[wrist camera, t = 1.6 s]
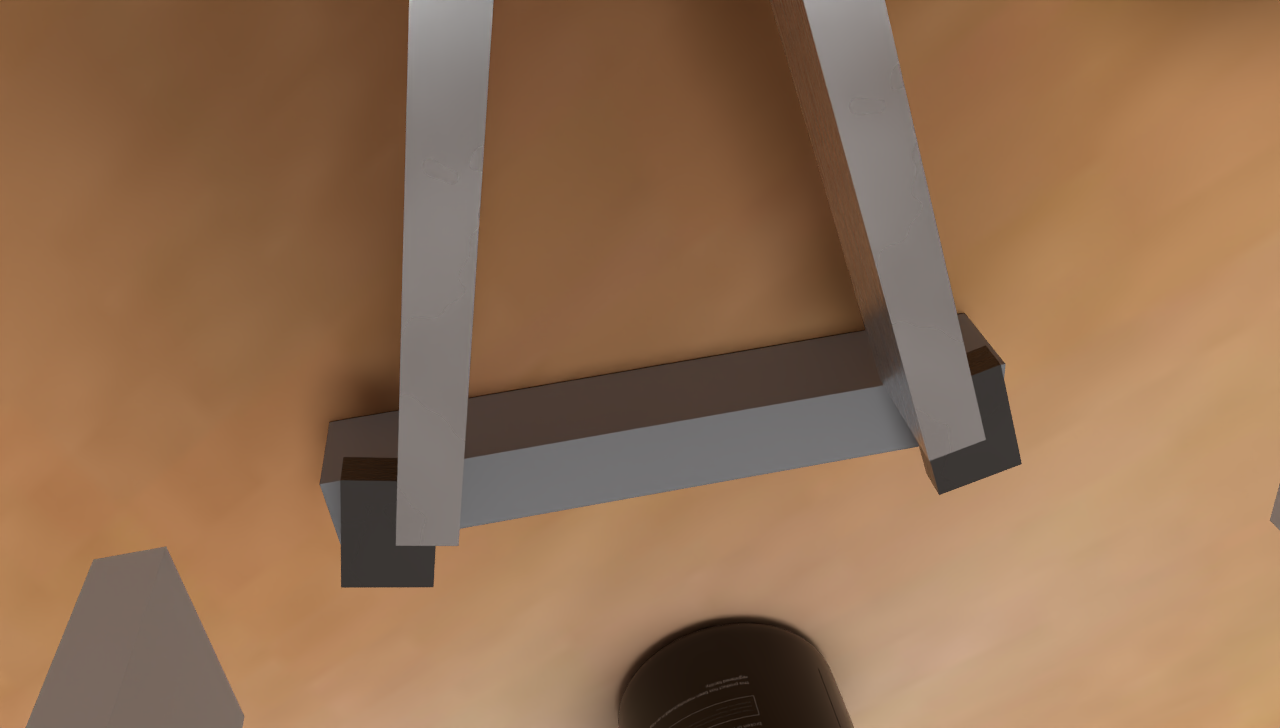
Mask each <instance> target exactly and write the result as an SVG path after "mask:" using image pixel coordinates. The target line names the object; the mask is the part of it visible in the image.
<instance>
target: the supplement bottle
mask: <svg viewBox="0 0 1280 728" xmlns="http://www.w3.org/2000/svg"><path fill="white" fill-rule="evenodd" d="M618 723H619V728H854V726H853V724H852V721H851V719H850V716H849V714H848V711H847V708H846V706H845V703H844V701H843V698H842V696H841V693H840V691H839V689H838V686H837V684H836V682H835V679H834V677H833V675H832V672H831V670H830V668H829V666H828V664H827V662H826V661H825V659H824V657H823V656H822V655H821V654H820V653H819V651H818V650H817V649H816V648H815V647H814V646H813V645H812V644H810V643H809V642H808V641H806V640H805V639H803V638H802V637H800V636H798V635H796V634H795V633H792V632H790V631H787V630H785V629H782V628H779V627H775V626H771V625H766V624H758V623H732V624H724V625H718V626H713V627H709V628H705V629H702V630H699V631H695V632H693V633H690V634H688V635H685V636H683V637H681V638H679V639H677V640H675V641H673V642H672V643H670V644H668V645H667V646H665V647H664V648H662V649H661V650H659V651H658V652H656V653H655V654H654V655H653V656H651V657H650V658H649V659H648V660H647V661H646V662H645V663H644V664H643V665H642V666H641V667H640V668H639V669H638V671H637V672H636V673H635V675H634V676H633V677H632V679H631V681H630V682H629V684H628V686H627V688H626V690H625V692H624V694H623V697H622V700H621V703H620V709H619V718H618Z"/></svg>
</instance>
